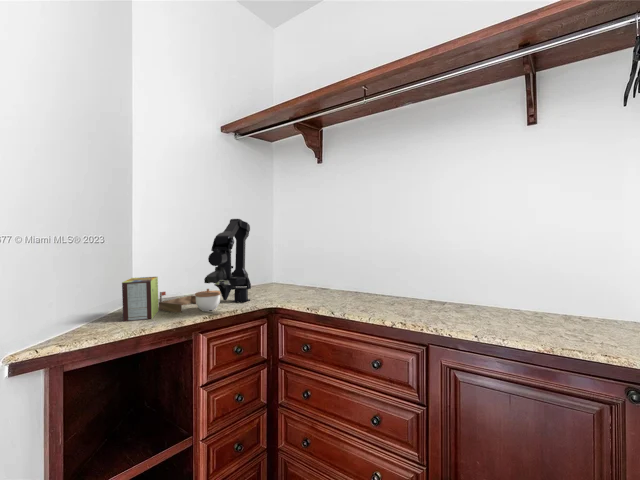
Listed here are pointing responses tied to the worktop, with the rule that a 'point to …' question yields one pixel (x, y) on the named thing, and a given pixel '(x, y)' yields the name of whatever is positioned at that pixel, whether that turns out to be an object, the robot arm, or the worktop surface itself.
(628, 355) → the worktop surface
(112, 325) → the worktop surface
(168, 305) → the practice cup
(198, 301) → the lidded jar
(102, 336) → the worktop surface
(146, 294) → the protein box
